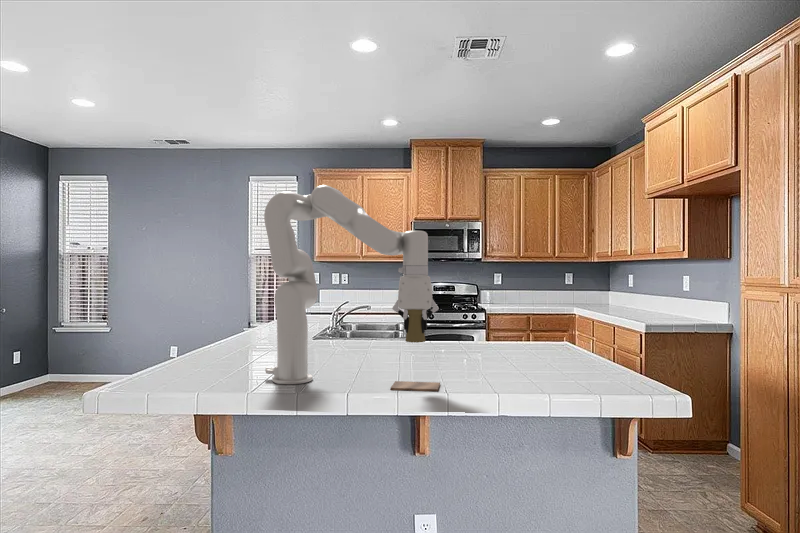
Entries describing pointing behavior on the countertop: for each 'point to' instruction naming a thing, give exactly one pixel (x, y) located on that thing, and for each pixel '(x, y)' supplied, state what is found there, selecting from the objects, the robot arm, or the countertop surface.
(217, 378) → the countertop surface
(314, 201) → the robot arm
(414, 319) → the cork
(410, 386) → the walnut board
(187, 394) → the countertop surface
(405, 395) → the countertop surface
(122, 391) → the countertop surface
